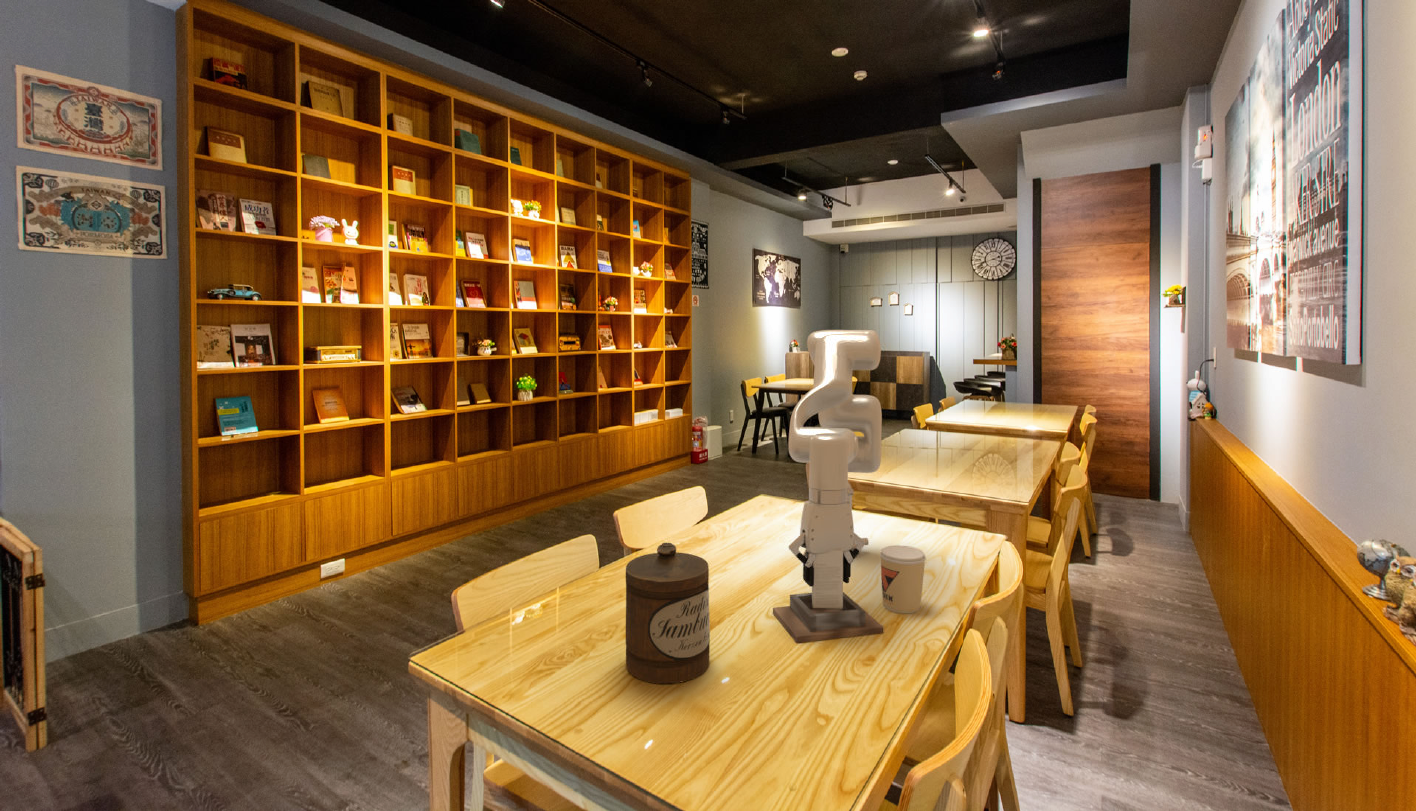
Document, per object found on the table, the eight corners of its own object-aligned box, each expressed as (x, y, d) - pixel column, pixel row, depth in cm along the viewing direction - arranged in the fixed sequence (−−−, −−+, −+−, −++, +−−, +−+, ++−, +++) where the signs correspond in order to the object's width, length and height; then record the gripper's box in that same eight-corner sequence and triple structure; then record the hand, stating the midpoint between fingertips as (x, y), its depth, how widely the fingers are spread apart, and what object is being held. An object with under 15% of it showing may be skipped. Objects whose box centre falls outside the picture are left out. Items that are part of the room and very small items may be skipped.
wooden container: (668, 694, 110) (666, 563, 107) (609, 665, 119) (606, 544, 117) (726, 661, 121) (726, 542, 118) (668, 637, 130) (666, 526, 128)
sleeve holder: (852, 604, 145) (852, 586, 145) (883, 632, 132) (883, 612, 131) (772, 613, 141) (772, 593, 141) (796, 642, 128) (796, 621, 127)
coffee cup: (872, 598, 149) (874, 545, 148) (914, 596, 150) (915, 544, 148) (887, 615, 140) (889, 559, 138) (931, 614, 140) (933, 558, 139)
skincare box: (840, 601, 138) (841, 544, 136) (842, 609, 134) (843, 550, 132) (810, 600, 138) (811, 543, 137) (811, 608, 134) (812, 550, 133)
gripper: (859, 489, 139) (858, 572, 141) (780, 493, 135) (779, 579, 137) (877, 497, 132) (875, 585, 134) (793, 502, 128) (792, 593, 130)
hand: (826, 581), depth 135 cm, fingers closed on skincare box, 6 cm apart
